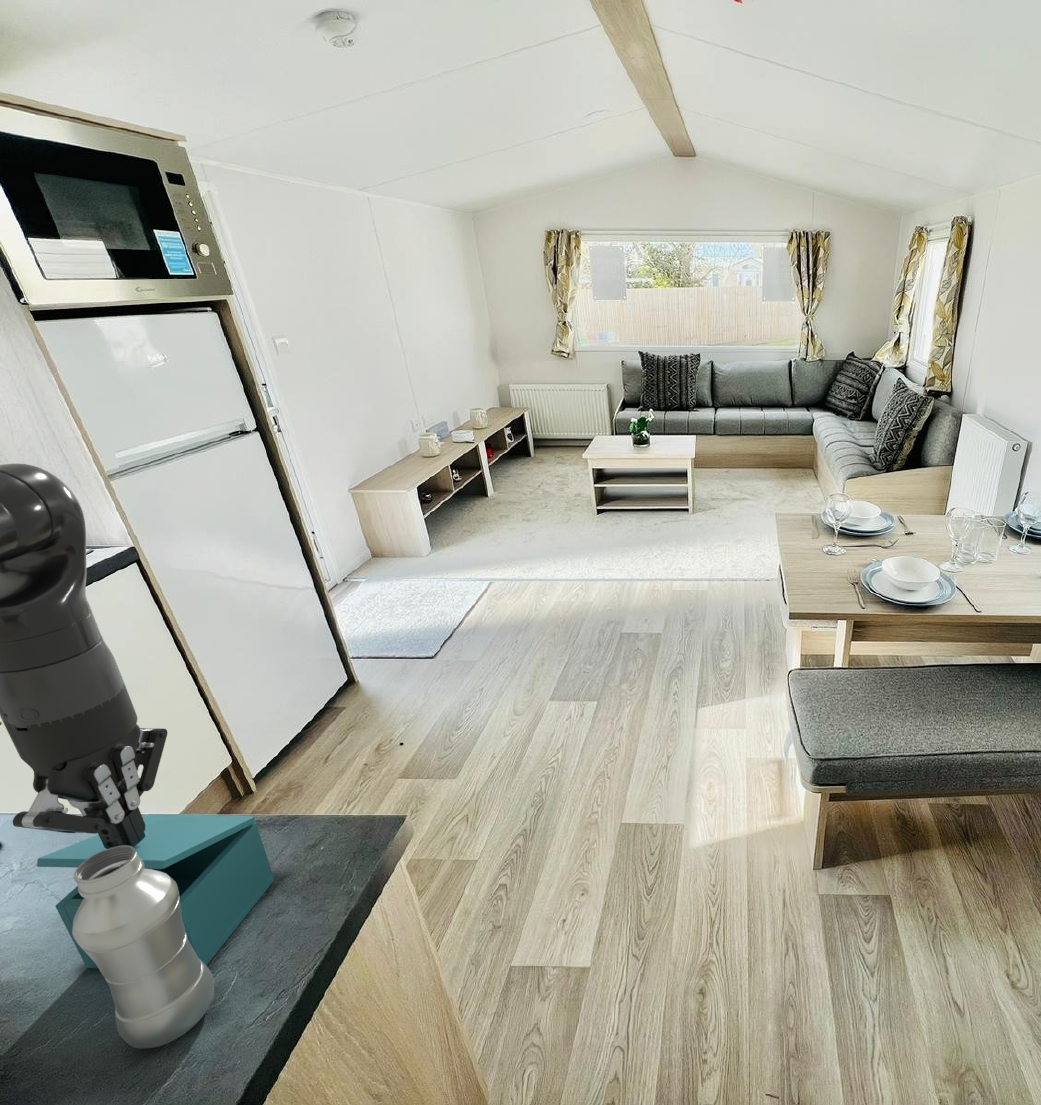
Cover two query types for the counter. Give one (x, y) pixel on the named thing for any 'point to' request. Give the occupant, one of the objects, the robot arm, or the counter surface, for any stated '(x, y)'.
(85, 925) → the silver metal bottle
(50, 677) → the robot arm
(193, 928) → the cool box
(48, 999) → the counter surface
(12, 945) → the counter surface
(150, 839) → the cool box lid
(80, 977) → the counter surface
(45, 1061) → the counter surface
